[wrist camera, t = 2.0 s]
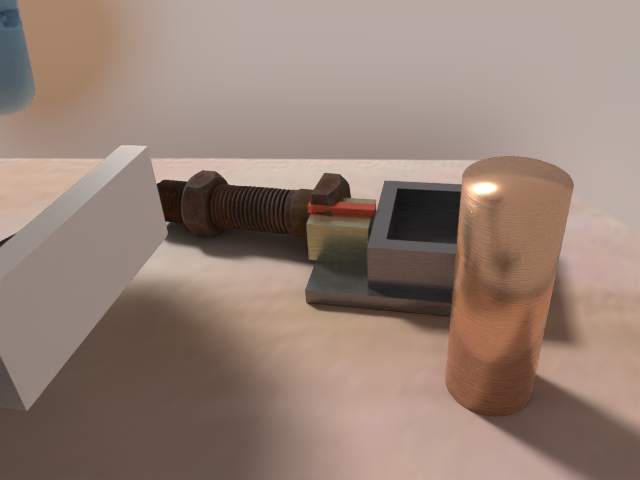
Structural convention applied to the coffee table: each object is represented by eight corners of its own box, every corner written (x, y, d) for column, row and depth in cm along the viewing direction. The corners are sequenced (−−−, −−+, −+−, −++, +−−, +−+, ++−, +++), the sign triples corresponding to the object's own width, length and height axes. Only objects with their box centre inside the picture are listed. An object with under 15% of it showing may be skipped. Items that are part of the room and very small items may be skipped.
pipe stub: (443, 409, 30) (461, 203, 23) (447, 348, 34) (463, 154, 27) (535, 421, 29) (580, 209, 23) (528, 357, 33) (566, 158, 26)
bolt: (171, 235, 49) (348, 254, 44) (133, 239, 44) (328, 261, 39) (174, 163, 48) (354, 175, 44) (136, 159, 43) (334, 173, 39)
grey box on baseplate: (295, 301, 38) (289, 245, 35) (327, 219, 46) (324, 168, 44) (507, 321, 35) (516, 262, 33) (501, 230, 43) (508, 177, 41)
